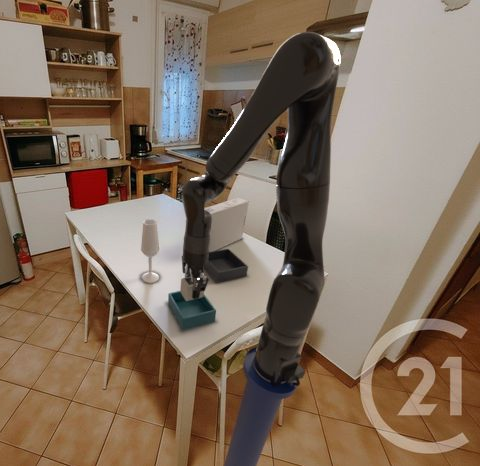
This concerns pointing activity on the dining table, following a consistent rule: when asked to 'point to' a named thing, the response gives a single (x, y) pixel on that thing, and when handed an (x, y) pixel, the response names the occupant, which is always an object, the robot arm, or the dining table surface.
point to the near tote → (191, 310)
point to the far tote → (225, 265)
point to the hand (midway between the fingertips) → (192, 292)
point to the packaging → (227, 222)
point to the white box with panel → (188, 288)
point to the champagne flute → (150, 247)
